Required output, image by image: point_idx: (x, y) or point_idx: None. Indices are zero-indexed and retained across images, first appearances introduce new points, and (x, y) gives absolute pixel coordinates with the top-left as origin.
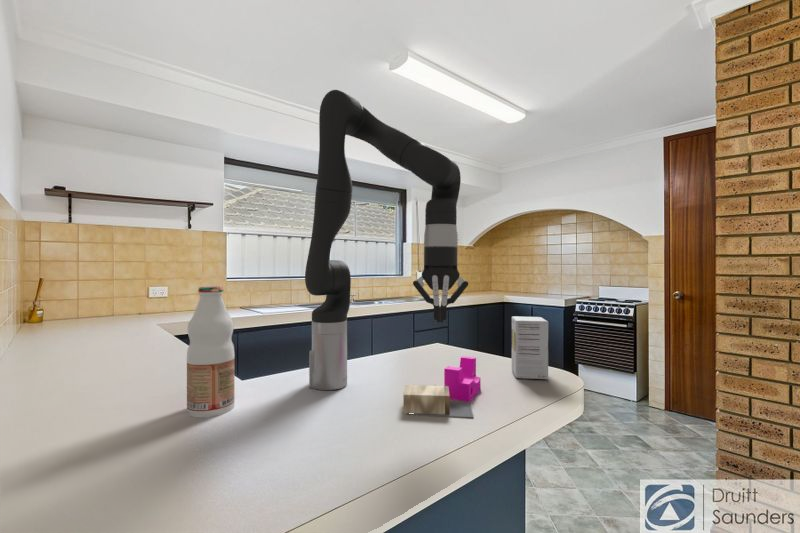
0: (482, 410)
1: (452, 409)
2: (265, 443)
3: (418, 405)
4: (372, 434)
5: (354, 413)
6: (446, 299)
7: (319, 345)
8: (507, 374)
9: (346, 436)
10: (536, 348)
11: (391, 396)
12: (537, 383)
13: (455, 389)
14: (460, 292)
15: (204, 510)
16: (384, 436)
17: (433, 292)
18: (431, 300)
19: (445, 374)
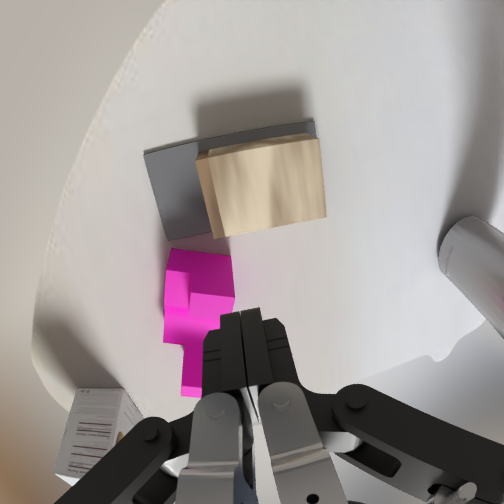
0: (134, 207)
1: (197, 184)
2: (468, 4)
3: (274, 140)
4: (339, 25)
5: (402, 121)
6: (196, 440)
7: None
8: (143, 400)
9: (380, 16)
10: (80, 431)
11: (350, 234)
12: (84, 370)
13: (203, 265)
14: (82, 489)
15: None
16: (314, 18)
17: (331, 470)
18: (329, 417)
19: (230, 288)
